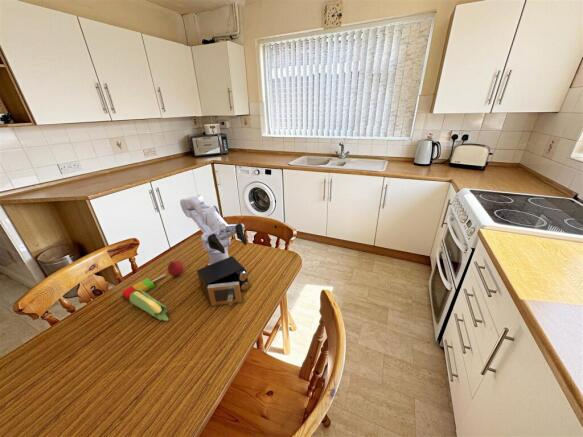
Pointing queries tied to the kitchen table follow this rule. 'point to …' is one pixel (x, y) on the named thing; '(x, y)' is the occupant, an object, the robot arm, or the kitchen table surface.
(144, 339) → the kitchen table surface
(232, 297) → the door
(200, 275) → the microwave
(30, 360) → the kitchen table surface
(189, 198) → the robot arm
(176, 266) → the onion
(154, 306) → the edible corn
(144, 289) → the popsicle
